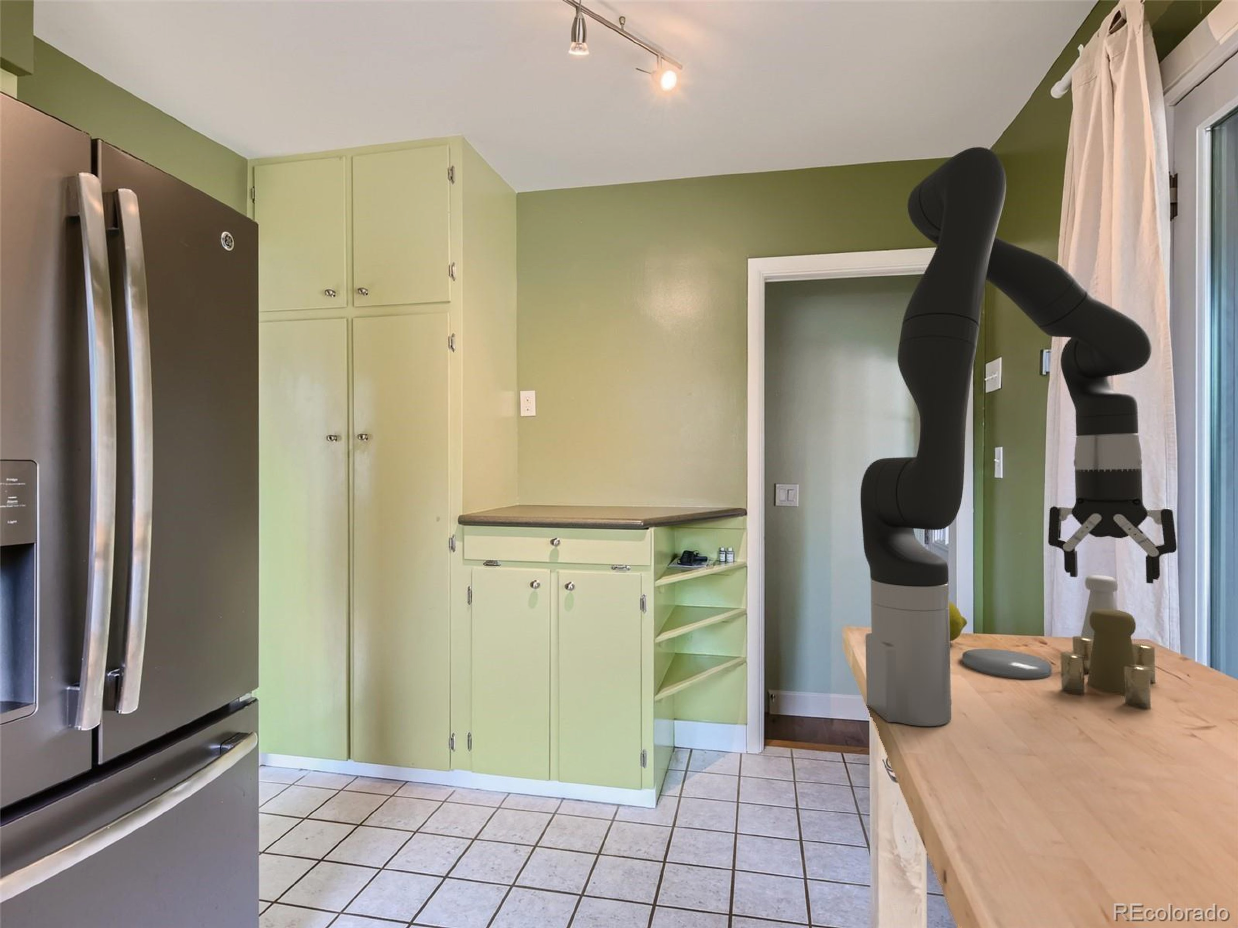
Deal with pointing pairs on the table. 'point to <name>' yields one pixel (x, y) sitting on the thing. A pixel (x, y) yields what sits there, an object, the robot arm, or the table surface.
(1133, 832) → the table surface
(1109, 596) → the salt shaker
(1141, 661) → the cylinder
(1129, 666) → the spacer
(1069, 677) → the cylinder
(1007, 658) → the slate coaster
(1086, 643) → the cylinder
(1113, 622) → the cork
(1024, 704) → the table surface
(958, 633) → the lemon
